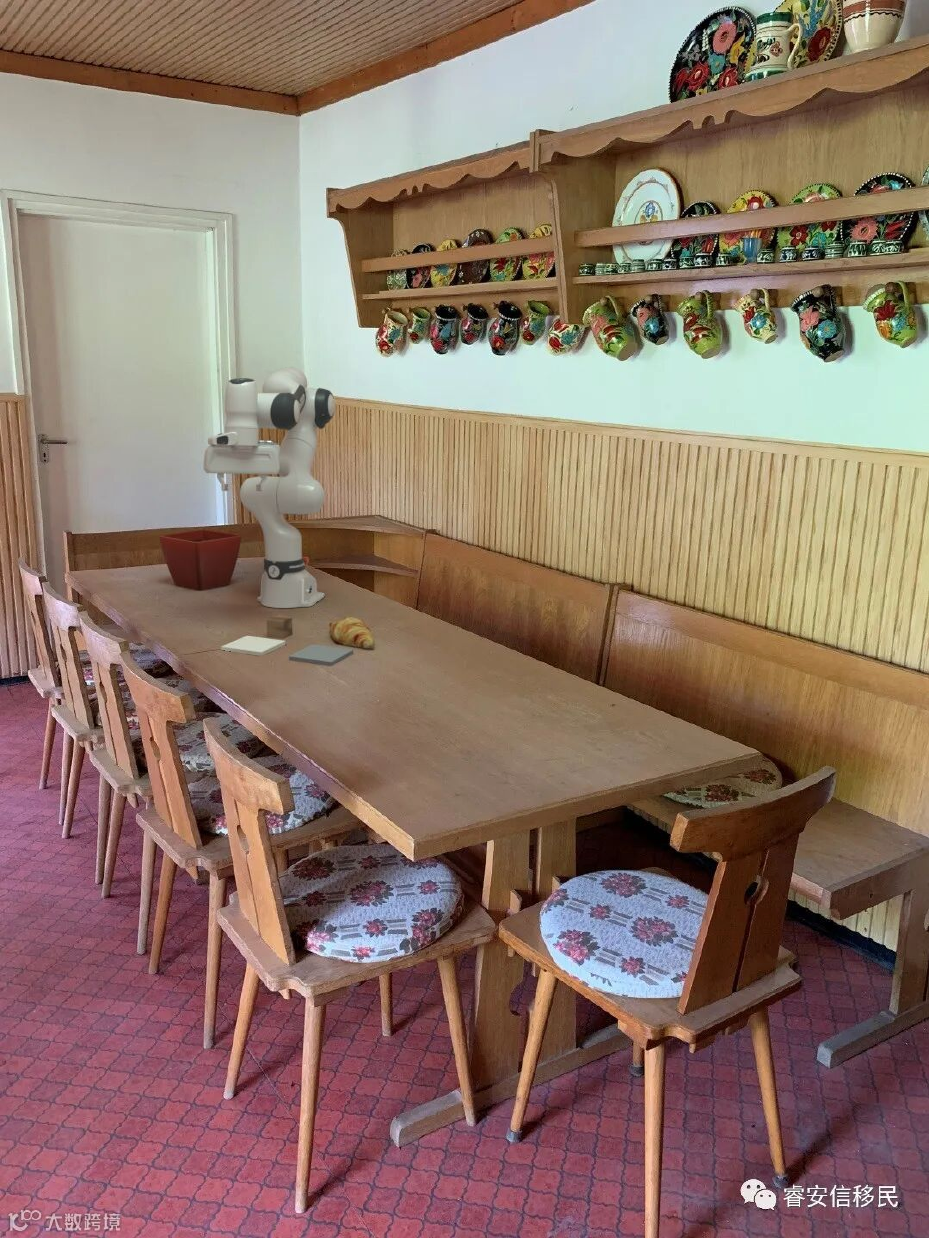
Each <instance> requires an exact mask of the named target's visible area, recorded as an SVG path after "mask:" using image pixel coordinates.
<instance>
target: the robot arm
mask: <svg viewBox="0 0 929 1238" xmlns="http://www.w3.org/2000/svg"><path fill="white" fill-rule="evenodd" d="M225 389H226V390H225V396H224V398H225V399H224V413H225V415H226V421H225V426H224V432H223V433H218V434H216V435H212V436H209V437H207V444H208V446H207V447H206V449H205V450H204V456H203V471H204V472H205V473H206V474H216V478H217V480H218V482H219V483H220V484H221V487H220V488H221V491H222V492H228V491H229V484H228V483H225V482H224V480H223V478H224V477H225V474H231V475H233V474H234V475H236V474H237V475H259V476H254V477H249V478H246V479H245V480H244V481H243V483H242V484H241V487H240V490H239V497H240V502H241V504H242V505H243V507H244V508H245V509H247V511H249V512H250V513H251V514H252V515H253V516H254V517H255V519H256V520H257V522H258V524H259V526H260V527H261V530H262V531H261V532H262V534H263V540H264V541H263V542H264V554H265V555H264V556H265V557H264V559H263V569H264V571H265V572H264V573H262V575H261V581H260V582H261V583H260V596H258V597H257V601H258V602H260V604H261V605H263V606H264V607H267V608H268V607H269V608H274V609H291V608H301V607H302V608H305V607H312V606H313V605H315V604H317V603H318V602H319V601H321V600H322V599H323V598H325V597H324V596H325V593H324V592H321V591H318V583H317V578H315V577H314V576H313V575H312V574H311V573H310V572H309V571H308V570H307V569H306V565H305V564H309V562H310V559H309V557H308V556H303V552H302V551H303V550H302V549H303V546H302V538H303V537H302V534H301V532H300V531H299V529H298V528H296V527H295V526H293V525H292V524H291V523H289V522H288V521H286V519H285V518H284V515H285V514H286V515H308V514H314V513H315V514H316V513H318V512H319V511H320V510H321V509H322V507H323V506H324V504H325V500H326V497H325V494H326V492H325V490H324V487H323V485H322V484H321V483H320V482H319V481H318V480H316V479H315V478H314V477H313V475H312V473H311V471H312V467H313V463H314V460H315V457H316V453H317V447H318V442H319V441H318V438H319V436H318V431H317V429H318V428H319V430H323V429H325V427H326V425H327V424H329V422H330V421H331V420H332V419H333V418H334V415H335V411H336V402H335V397H334V395H333V393H332V391H330V390H329V389H327V388H323V387H322V388H321V387H319V388H314V387H308V379H307V376H306V375H305V373H304V372H303V371H302V370H300V369H299V368H297V367H293V366H292V367H284V368H281V369H278V370H276V371H274V372H272V373H271V374H270V375H268V376H267V377H266V379H265V380H264V382H263V384H262V390H261V391H262V392H258V386H257V381H256V380H255V379H253V378H247V377H245V378H243V377H239V378H236V377H235V378H232V379H229V380H228V381H227V383H226V388H225ZM260 429H273V430H283V431H284V430H286V431H287V432H286V433H285V434H284V436H283V438H282V441H281V443H280V444H279V443H278V442H276V441H275V440H271V439H270V440H266V439H265V440H263V439H260V437H259V434H260V433H259V431H260ZM269 475H279V476H269ZM317 601H318V602H317ZM316 602H317V603H316Z"/></svg>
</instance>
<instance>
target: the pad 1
mask: <svg viewBox="0 0 929 1238" xmlns="http://www.w3.org/2000/svg"><path fill="white" fill-rule="evenodd" d="M286 643H287V641H286V640H284V639H277V638H269V637H266V638H265V637H261V636H254V635H253V636H251V635H245V636H243V637H240V638H238V639H236V640H234V641H232V642H229V643H226V644H224V645H221V646H220V648H221V649H220V650H221V651H222V650H225V651H224V652H229V651H231V653H236V652H237V653H238V654H244V655H251V656H259V657H263V656H265V655H267V654H269V653H271V652H273V651H275V650H278V649H279V648H282V647H284V646H286V645H285V644H286ZM237 653H236V654H237Z"/></svg>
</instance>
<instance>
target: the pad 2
mask: <svg viewBox="0 0 929 1238" xmlns="http://www.w3.org/2000/svg"><path fill="white" fill-rule="evenodd" d="M352 655H354V649H350V648H344V647H335V646H327V645H319V644H313V643H312V644H311V645H309V646H306V647H305V648H303V649H300V650H297V651H296V652H294V653H293V654H291V655H289V656H288V660H289V661H294V662H301V663H309V664H315V665H323V666H327V667H329V666H330V667H332V666H334V665H335V664H337V663H339V662H341V661H343V660H344V659H346V658H348V657H350V656H352Z"/></svg>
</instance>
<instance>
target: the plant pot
mask: <svg viewBox="0 0 929 1238" xmlns="http://www.w3.org/2000/svg"><path fill="white" fill-rule="evenodd" d="M159 540H160V546H161V550H162V554H163V556H164V560H165V563H166V566H167V569H168V571H169V573H170V576H171V579H172V581H173V583H174V585H175V586H177V587H181V588H186V589H190V590H195V591H203V590H204V591H205V590H210V589H214V588H215V589H216V588H221V587H226V586H229V585H230V582H231V580H232V578H233V577H232V576H233V575H234V571H235V568H236V564H237V562H238V558H239V553H240V547H241V540H242V535H240V534H234V533H228V532H223V531H219V530H209V529H197V530H191V531H182V532H175V533H167V534H162V535H159Z"/></svg>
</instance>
